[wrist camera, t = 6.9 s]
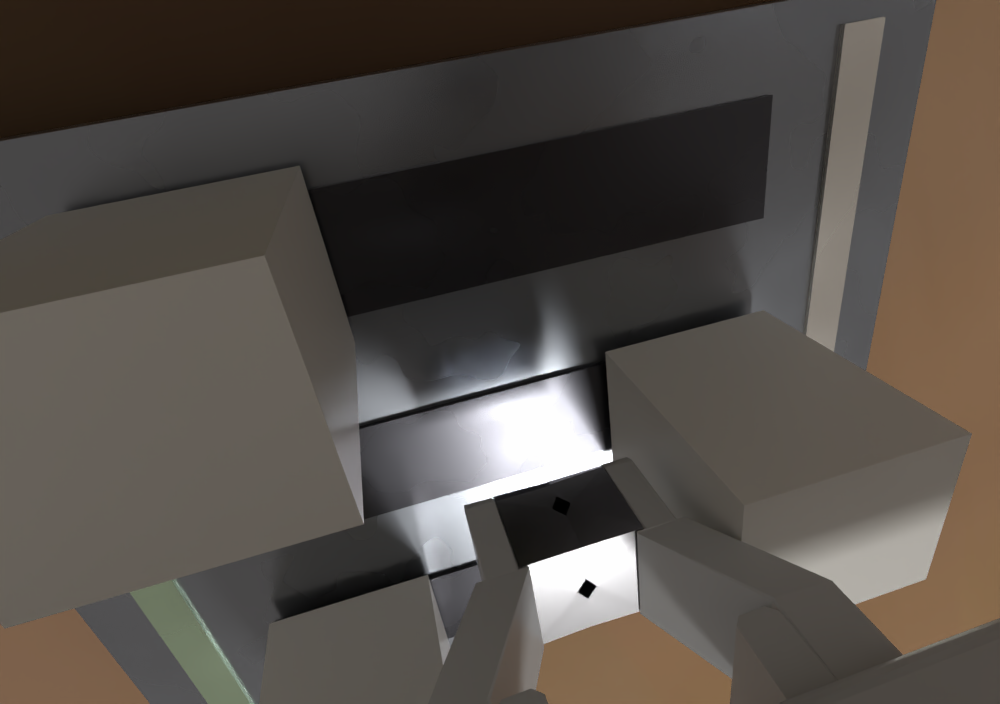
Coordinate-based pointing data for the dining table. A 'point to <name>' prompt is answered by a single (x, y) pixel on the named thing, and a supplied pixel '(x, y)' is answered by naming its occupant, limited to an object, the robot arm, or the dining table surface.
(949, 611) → the dining table surface
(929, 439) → the block
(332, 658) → the breaker
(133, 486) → the block
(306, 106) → the panel
